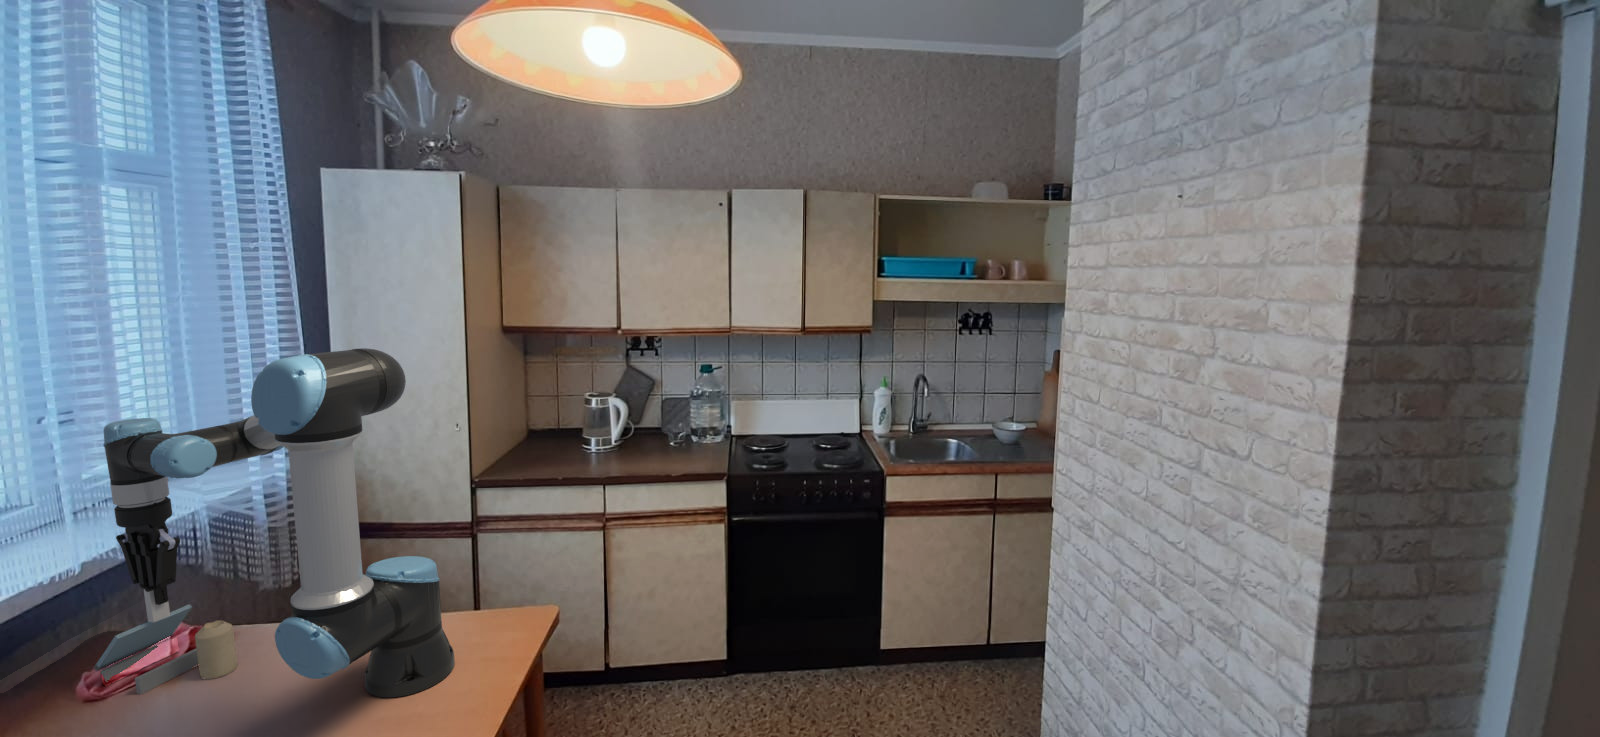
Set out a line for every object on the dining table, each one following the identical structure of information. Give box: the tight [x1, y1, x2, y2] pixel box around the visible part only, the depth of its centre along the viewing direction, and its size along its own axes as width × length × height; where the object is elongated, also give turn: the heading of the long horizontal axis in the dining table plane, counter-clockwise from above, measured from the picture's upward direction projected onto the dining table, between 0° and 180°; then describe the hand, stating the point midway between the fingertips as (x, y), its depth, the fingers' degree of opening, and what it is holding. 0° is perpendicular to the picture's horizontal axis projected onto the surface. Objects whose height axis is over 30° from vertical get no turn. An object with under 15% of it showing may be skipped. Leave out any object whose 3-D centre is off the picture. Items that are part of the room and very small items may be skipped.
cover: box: [93, 604, 193, 672], centre depth 128 cm, size 11×12×1 cm
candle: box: [194, 619, 238, 680], centre depth 128 cm, size 6×6×10 cm
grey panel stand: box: [99, 644, 199, 695], centre depth 128 cm, size 10×12×3 cm
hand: (159, 618), depth 126 cm, fingers closed
